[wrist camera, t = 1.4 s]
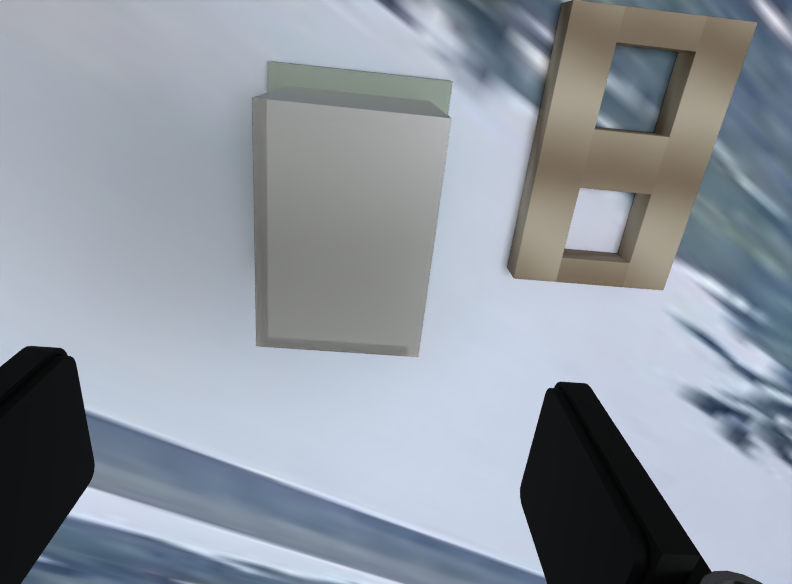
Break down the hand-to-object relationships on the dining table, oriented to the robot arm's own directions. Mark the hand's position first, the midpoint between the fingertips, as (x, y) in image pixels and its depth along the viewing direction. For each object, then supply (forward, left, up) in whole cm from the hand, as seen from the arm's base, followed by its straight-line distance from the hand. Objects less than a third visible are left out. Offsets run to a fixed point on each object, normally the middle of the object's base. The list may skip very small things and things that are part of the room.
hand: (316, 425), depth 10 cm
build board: (-3, +14, -20) cm, 24 cm away
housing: (0, 0, -19) cm, 19 cm away
